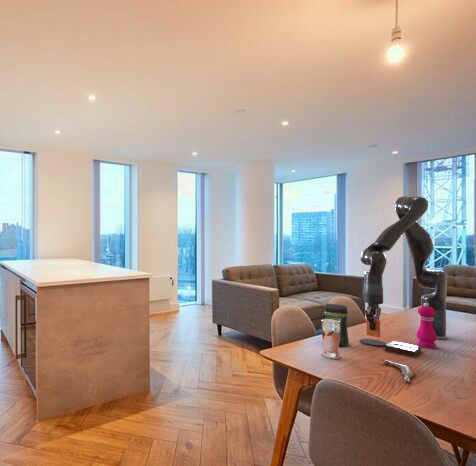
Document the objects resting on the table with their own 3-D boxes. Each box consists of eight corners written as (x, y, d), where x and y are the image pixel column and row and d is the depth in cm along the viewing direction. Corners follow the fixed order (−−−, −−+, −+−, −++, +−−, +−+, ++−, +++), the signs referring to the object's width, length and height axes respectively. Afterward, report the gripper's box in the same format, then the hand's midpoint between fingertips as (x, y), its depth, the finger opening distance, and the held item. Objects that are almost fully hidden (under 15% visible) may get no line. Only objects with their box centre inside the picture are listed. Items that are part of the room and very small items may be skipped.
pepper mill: (441, 349, 150) (440, 304, 150) (422, 348, 151) (422, 303, 151) (430, 344, 157) (429, 301, 157) (412, 343, 158) (412, 300, 159)
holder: (392, 346, 154) (392, 340, 154) (421, 352, 146) (421, 346, 146) (385, 350, 148) (385, 345, 148) (414, 357, 140) (414, 351, 140)
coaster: (365, 338, 165) (365, 337, 165) (389, 343, 157) (389, 342, 157) (356, 342, 159) (356, 341, 159) (382, 348, 151) (382, 346, 151)
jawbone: (401, 365, 132) (402, 360, 132) (437, 389, 112) (438, 383, 112) (376, 361, 134) (376, 356, 134) (407, 384, 114) (407, 378, 114)
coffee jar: (349, 343, 157) (349, 304, 157) (347, 348, 151) (347, 307, 151) (326, 339, 164) (326, 301, 164) (322, 343, 158) (322, 304, 158)
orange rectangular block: (367, 334, 161) (367, 317, 161) (380, 337, 157) (380, 319, 157) (366, 335, 160) (366, 318, 160) (379, 337, 156) (379, 320, 156)
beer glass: (338, 354, 143) (338, 319, 143) (343, 360, 136) (342, 323, 137) (319, 352, 145) (319, 318, 145) (323, 358, 139) (323, 322, 139)
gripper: (377, 295, 151) (377, 333, 151) (387, 292, 159) (388, 329, 159) (358, 293, 157) (358, 330, 157) (369, 290, 165) (369, 325, 165)
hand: (373, 329), depth 158 cm, fingers closed on orange rectangular block, 1 cm apart
